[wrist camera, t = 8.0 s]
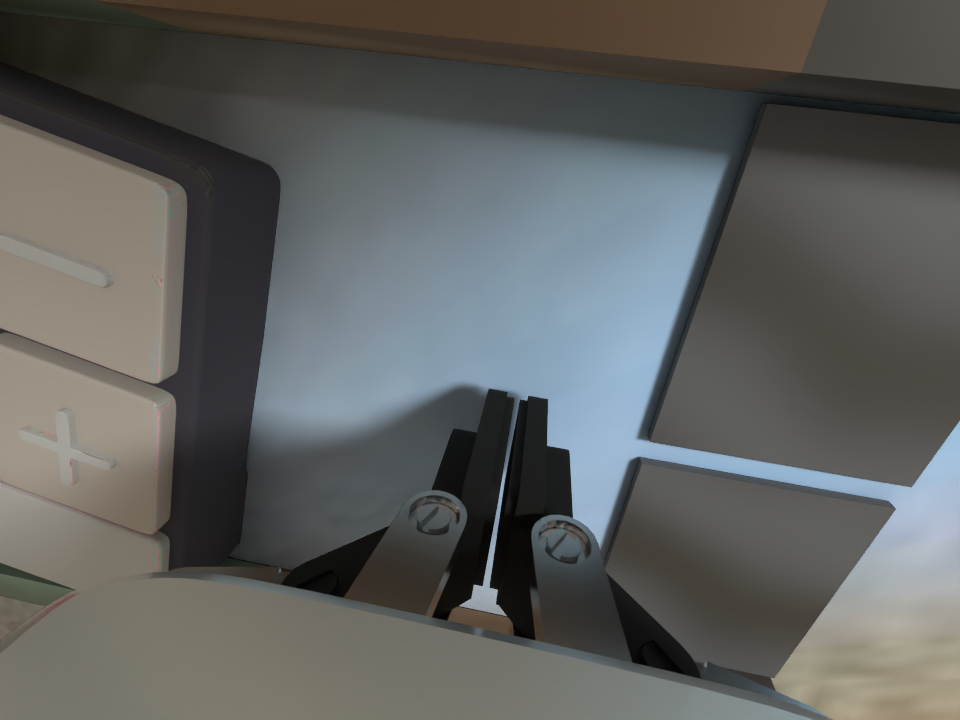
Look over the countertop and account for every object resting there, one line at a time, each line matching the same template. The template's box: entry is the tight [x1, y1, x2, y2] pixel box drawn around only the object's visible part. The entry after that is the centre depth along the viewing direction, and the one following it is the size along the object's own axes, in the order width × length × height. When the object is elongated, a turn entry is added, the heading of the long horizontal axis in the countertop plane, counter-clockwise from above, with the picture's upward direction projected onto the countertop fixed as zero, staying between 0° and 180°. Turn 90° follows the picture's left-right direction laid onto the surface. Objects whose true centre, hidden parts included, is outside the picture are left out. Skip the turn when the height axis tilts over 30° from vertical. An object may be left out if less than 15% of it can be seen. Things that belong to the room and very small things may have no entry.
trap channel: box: [0, 0, 960, 691], centre depth 13 cm, size 21×34×3 cm, turn 84°
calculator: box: [0, 62, 280, 590], centre depth 13 cm, size 11×4×15 cm
